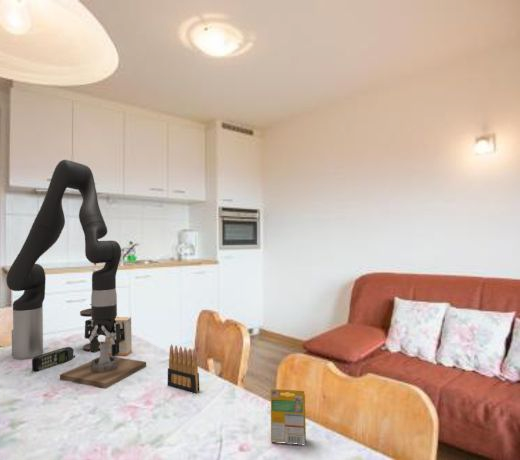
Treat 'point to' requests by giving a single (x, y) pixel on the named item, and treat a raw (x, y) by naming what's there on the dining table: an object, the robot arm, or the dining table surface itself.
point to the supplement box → (125, 345)
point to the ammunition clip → (183, 370)
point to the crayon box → (288, 416)
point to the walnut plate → (102, 379)
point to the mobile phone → (52, 358)
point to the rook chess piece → (104, 353)
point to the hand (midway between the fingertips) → (104, 353)
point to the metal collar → (104, 365)
